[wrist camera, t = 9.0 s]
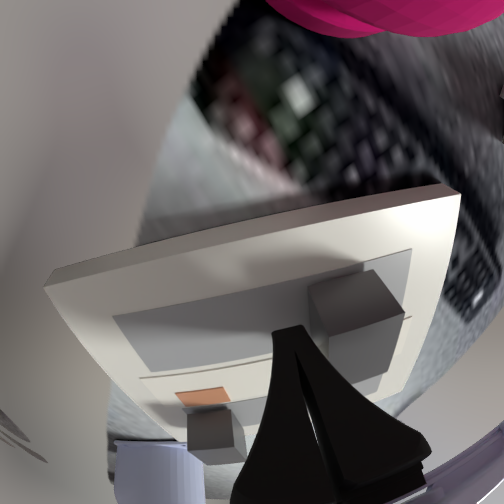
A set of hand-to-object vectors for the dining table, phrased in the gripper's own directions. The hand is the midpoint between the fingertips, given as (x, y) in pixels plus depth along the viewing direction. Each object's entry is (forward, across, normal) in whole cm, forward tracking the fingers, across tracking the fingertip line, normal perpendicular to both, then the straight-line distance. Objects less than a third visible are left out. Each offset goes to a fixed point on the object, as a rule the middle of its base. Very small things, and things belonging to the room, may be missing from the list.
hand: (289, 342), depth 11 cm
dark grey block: (+1, +6, +9) cm, 11 cm away
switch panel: (+3, 0, +4) cm, 5 cm away
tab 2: (+1, -3, 0) cm, 3 cm away
